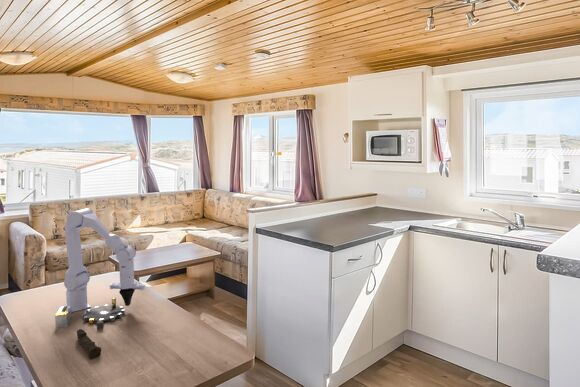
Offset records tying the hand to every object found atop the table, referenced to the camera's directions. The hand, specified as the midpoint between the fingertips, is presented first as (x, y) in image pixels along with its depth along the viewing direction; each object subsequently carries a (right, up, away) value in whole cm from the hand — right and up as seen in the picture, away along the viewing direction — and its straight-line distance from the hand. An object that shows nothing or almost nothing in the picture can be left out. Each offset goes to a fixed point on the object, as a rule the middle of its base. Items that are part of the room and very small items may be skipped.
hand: (127, 305), depth 177 cm
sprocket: (-8, -3, -5) cm, 10 cm away
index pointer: (-4, -5, -16) cm, 17 cm away
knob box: (-21, -4, -12) cm, 25 cm away
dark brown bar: (-2, -7, -33) cm, 33 cm away
